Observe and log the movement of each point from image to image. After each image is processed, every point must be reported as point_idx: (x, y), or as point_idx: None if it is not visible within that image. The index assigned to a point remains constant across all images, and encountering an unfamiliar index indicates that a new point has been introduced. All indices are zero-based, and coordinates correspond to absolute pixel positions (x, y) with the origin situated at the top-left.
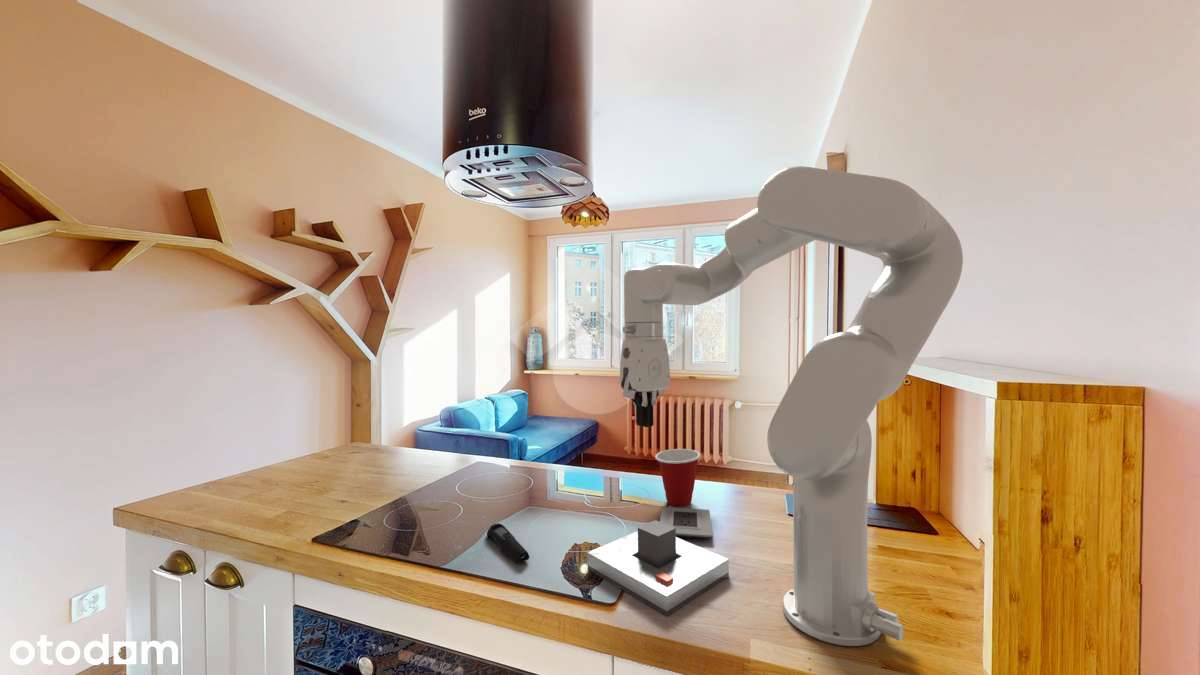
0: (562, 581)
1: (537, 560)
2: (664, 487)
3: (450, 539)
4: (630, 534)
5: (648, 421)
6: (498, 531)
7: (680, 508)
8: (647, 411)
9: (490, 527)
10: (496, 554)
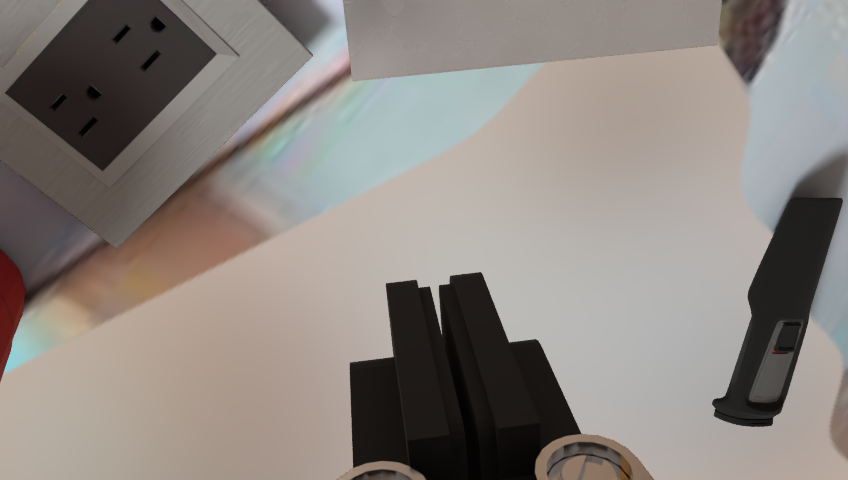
0: (797, 21)
1: (756, 191)
2: (8, 353)
3: (836, 445)
4: (480, 64)
5: (483, 300)
6: (777, 382)
7: (42, 186)
8: (520, 383)
9: (772, 421)
10: None
